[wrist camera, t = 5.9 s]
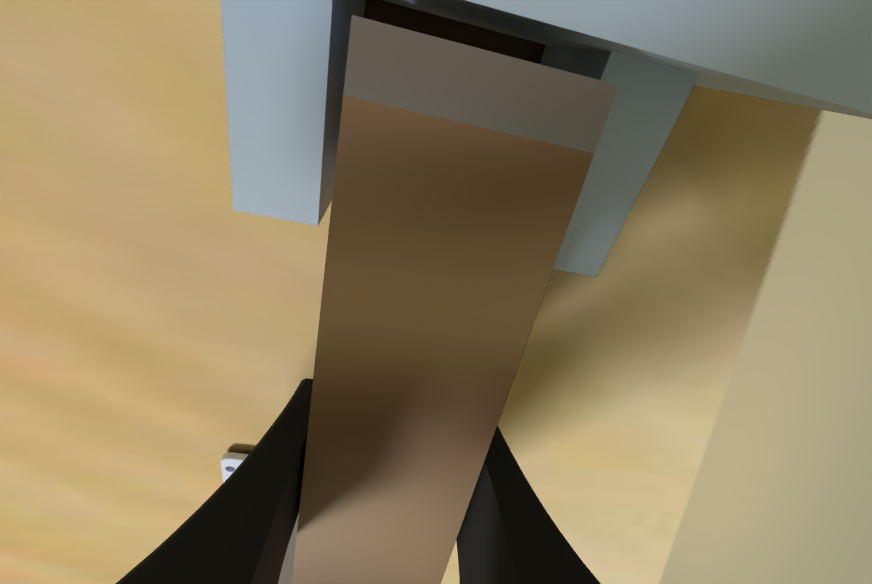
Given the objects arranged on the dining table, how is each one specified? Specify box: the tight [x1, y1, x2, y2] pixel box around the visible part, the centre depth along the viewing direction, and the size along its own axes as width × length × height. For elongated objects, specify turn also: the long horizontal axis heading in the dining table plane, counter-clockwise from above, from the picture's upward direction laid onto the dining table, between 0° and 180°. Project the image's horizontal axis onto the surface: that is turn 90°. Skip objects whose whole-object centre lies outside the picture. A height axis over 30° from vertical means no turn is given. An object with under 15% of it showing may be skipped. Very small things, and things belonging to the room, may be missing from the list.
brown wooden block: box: [292, 15, 619, 584], centre depth 11 cm, size 14×4×5 cm, turn 167°
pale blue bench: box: [221, 0, 872, 277], centre depth 10 cm, size 6×16×7 cm, turn 77°
